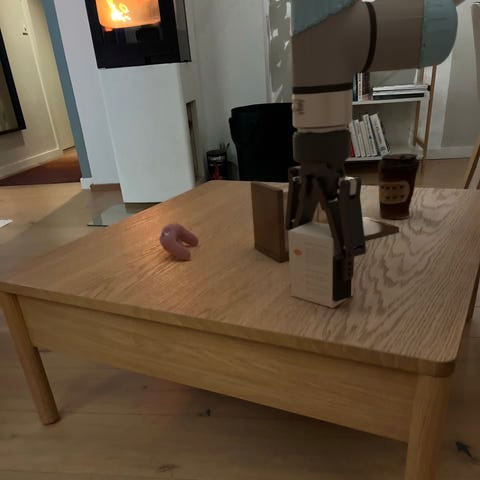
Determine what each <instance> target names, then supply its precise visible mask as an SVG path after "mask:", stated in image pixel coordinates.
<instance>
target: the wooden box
mask: <svg viewBox="0 0 480 480" xmlns="http://www.w3.org/2000/svg"><path fill="white" fill-rule="evenodd" d="M348 177H349V178H351V179H352V178H353V177H351V176H348ZM288 187H289V182H284V183H280V184H275V185H270V184H266V183H264V182H261V181H258V180H253V181H250V196H251V197H250V198H251V212H252V225H253V240H254V241H253V242H254V244H253V248H254V249H255V250H256V251H258V252H259V253H262V254H264V255H265V256H267V257H269V258H270V259H271V260H274V261H276V262H278V263H284V262H285V263H286V262H289V239H288V231H289V230H288V231H287V230H286V229H285V218H286V208H287V197H288ZM337 200H338V199H337V198H336V199H335V200H334V201H337ZM331 202H332V201H331ZM362 218H363V227H364V236H365V242H366V241H369V240H374V239H377V238H381V237H385V236H388V235H392V234H396V233H399V232H400V226H398V225H397V226H396V225H393V224H390V223H387V222H384V221H381V220H378V219H375V218H371V217H369V216H365V217H362ZM293 221H294V220H292V222H293ZM312 222H317V223H323V224H328V220H327V216H326V213H325V211H323V210H322V209H321V206H320V203H319V202H318V204H317V208H316V211H315V214H314V217H313V220H312Z"/></svg>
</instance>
